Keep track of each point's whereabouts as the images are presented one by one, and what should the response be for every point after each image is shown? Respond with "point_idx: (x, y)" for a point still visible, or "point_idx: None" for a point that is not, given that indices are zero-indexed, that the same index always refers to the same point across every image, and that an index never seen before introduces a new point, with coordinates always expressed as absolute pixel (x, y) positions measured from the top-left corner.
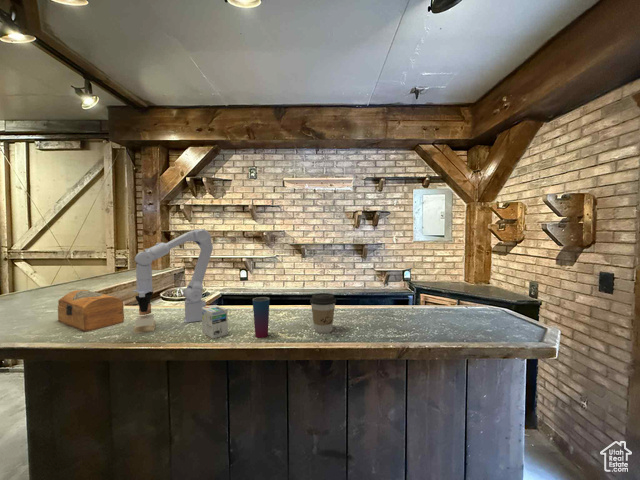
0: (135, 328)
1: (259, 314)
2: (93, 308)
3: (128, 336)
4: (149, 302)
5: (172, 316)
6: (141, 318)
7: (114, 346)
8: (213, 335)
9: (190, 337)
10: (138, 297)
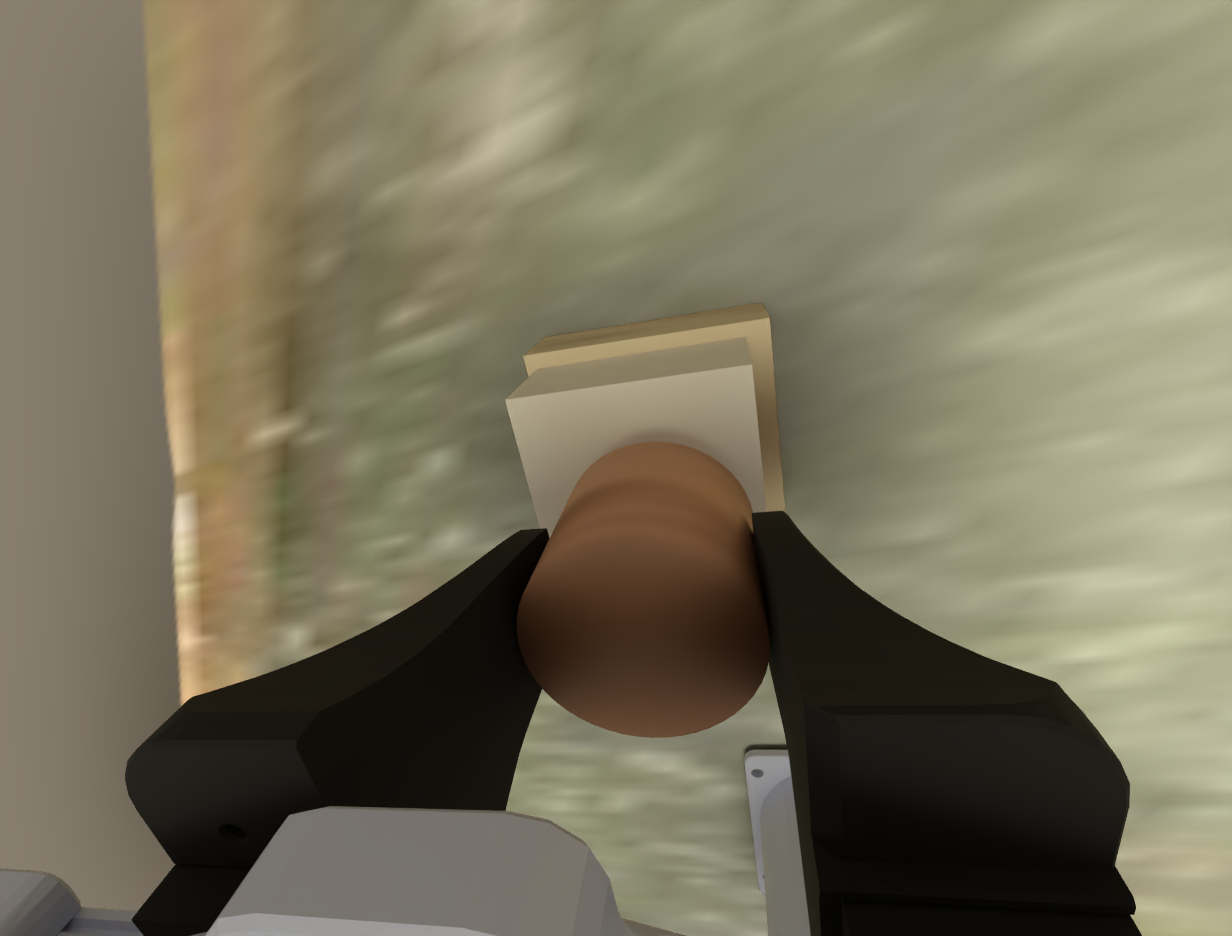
0: (532, 368)
1: None
2: None
3: (460, 302)
4: (781, 709)
5: (1157, 628)
6: (580, 466)
7: (187, 266)
8: None
9: None
10: (163, 801)
